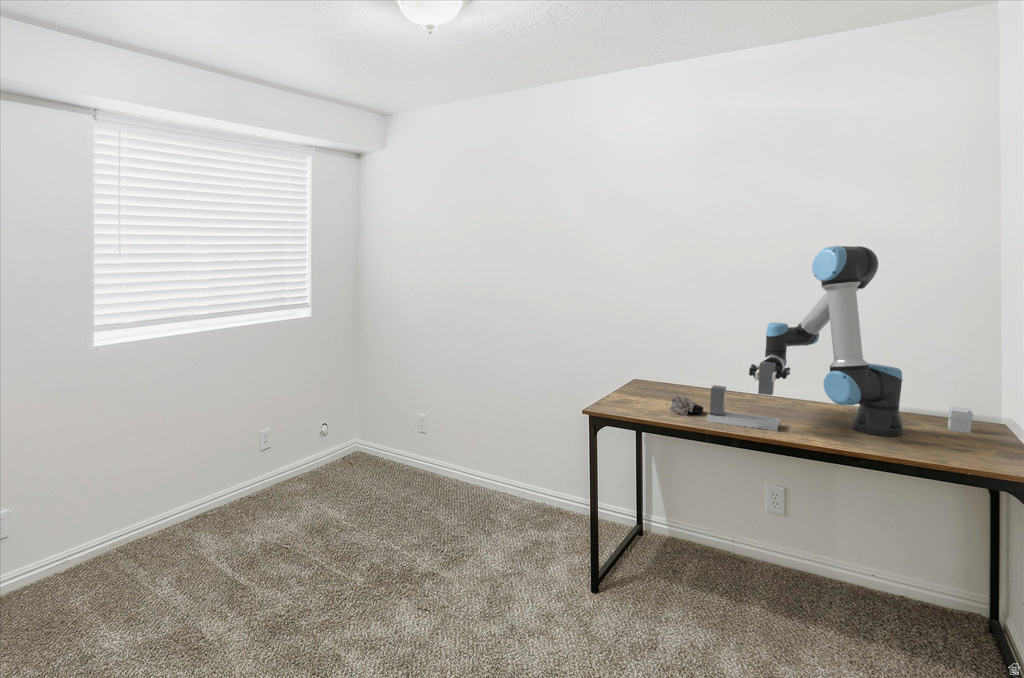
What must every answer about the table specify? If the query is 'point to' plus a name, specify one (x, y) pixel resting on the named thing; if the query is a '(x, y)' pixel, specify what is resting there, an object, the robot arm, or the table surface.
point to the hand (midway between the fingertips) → (764, 377)
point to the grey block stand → (738, 419)
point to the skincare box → (960, 419)
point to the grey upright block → (766, 378)
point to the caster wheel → (684, 405)
